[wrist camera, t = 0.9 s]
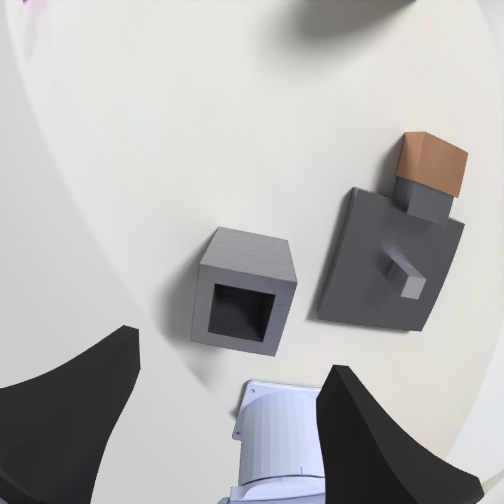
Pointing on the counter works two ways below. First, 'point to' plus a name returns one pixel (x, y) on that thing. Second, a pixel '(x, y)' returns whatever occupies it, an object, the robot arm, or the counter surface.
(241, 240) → the hollow square tube
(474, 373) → the counter surface
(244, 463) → the robot arm
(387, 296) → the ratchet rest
